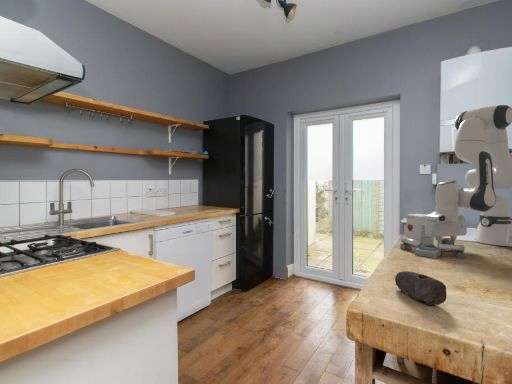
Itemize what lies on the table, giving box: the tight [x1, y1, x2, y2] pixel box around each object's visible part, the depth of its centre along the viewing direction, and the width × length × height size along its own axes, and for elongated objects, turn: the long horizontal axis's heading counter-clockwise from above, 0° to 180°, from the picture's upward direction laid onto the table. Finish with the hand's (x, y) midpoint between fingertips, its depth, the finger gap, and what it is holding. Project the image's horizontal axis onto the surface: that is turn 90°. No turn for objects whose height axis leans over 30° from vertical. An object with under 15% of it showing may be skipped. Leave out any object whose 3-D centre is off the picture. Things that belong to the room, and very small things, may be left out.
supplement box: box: [405, 213, 435, 247], centre depth 140 cm, size 9×9×15 cm
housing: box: [414, 246, 442, 259], centre depth 120 cm, size 8×8×2 cm
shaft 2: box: [437, 243, 466, 259], centre depth 117 cm, size 9×4×5 cm, turn 73°
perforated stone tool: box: [394, 270, 447, 306], centre depth 76 cm, size 15×5×7 cm, turn 14°
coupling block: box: [441, 237, 455, 245], centre depth 127 cm, size 4×4×5 cm
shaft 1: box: [399, 237, 422, 250], centre depth 128 cm, size 9×4×5 cm, turn 18°
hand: (445, 245), depth 127 cm, fingers closed on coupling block, 4 cm apart
